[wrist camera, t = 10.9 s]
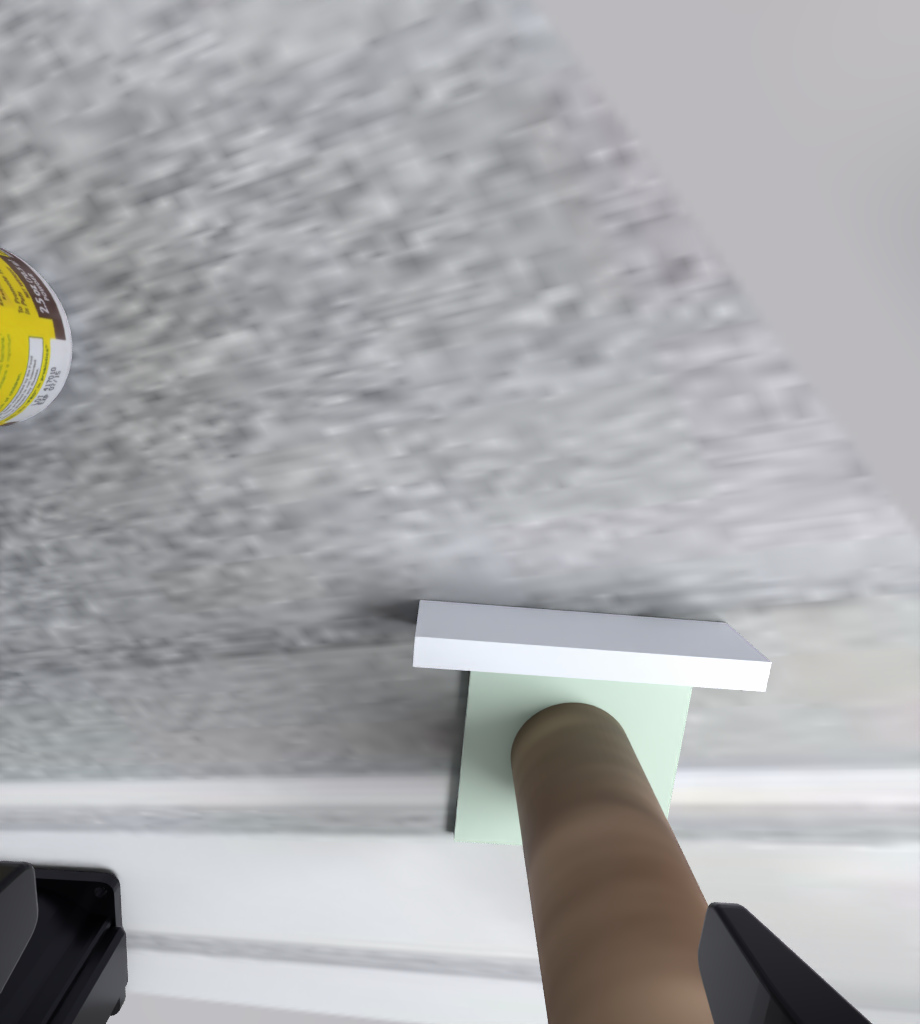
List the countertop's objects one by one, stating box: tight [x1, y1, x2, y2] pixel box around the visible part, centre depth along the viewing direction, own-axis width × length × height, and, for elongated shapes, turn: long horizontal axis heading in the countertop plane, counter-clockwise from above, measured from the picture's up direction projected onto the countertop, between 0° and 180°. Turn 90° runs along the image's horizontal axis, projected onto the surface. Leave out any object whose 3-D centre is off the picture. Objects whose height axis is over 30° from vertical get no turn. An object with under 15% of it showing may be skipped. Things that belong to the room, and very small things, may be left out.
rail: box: [413, 600, 772, 692], centre depth 20 cm, size 11×1×3 cm, turn 85°
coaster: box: [454, 671, 692, 846], centre depth 22 cm, size 8×8×1 cm
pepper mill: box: [511, 703, 714, 1024], centre depth 15 cm, size 4×4×13 cm
